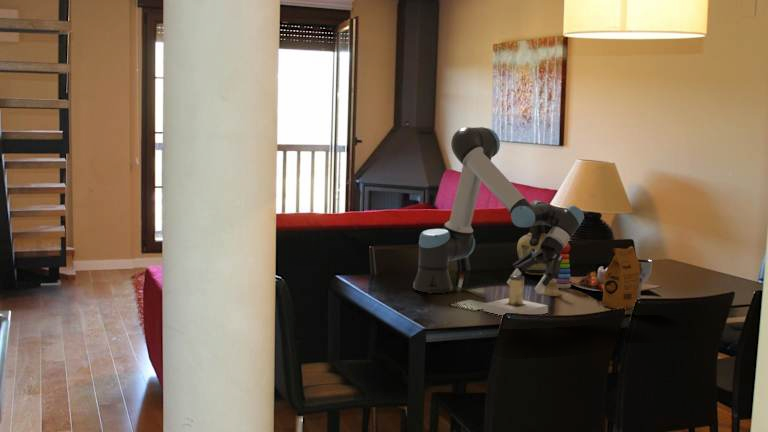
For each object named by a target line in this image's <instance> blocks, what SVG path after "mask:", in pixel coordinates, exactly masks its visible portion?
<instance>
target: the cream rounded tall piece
mask: <svg viewBox="0 0 768 432" xmlns="http://www.w3.org/2000/svg"><path fill="white" fill-rule="evenodd" d="M545 226H546V225H545V224H542V225H535V226H530V227H529V228H530V229H529V232H528V233H527V234H525V235H523V236H521V237H520V238H519V239H518V241H517V245H516V246H517V247H516V250H517V251H516V252H517V256H518V260H519V259H520V258H522V257H523V256H524V255H526V254H527V253H528V252H529V251H530V250H531V249H532V248H534V249H535V250H536V251H538V250H539V249H540V245H541V243H542V241H543V240H544V239H545V237H546V236H547V233H546V232H545V230H546V229H545V228H546V227H545ZM535 260H536V258H535ZM536 261H537V260H536ZM524 271H525V274H528V275H533V276H534V275H537V276H540V275H542V276H544V275H547V271H546V265H544V264H540V263H538V264H534V265H532V266H530V267H529V268H527V269H525V270H524Z"/></svg>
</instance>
